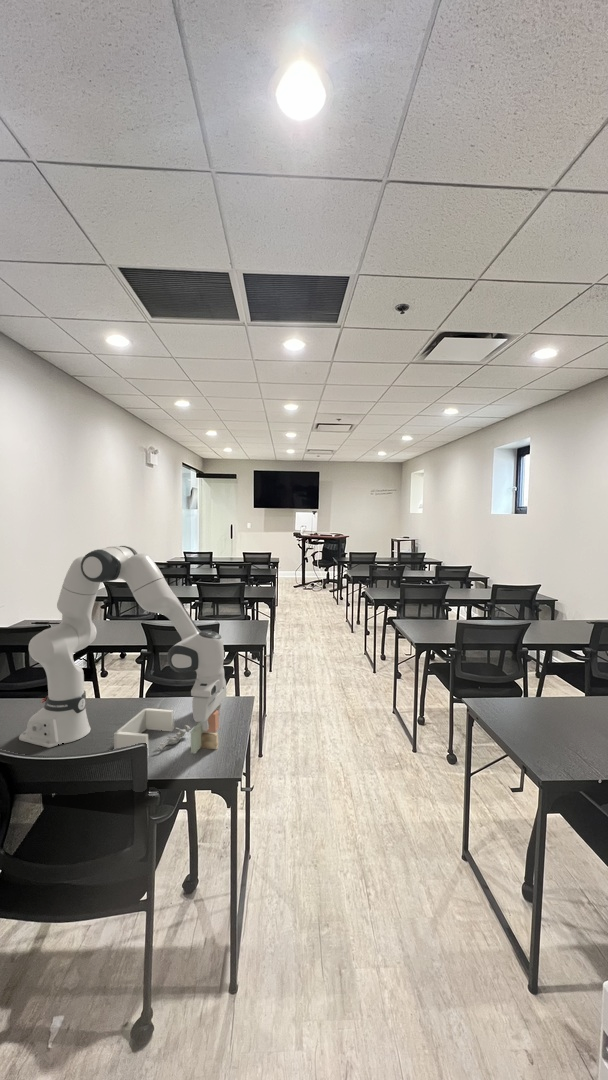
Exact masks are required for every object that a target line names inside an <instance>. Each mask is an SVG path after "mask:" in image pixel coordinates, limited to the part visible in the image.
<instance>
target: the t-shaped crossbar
mask: <svg viewBox="0 0 608 1080" xmlns="http://www.w3.org/2000/svg"><path fill="white" fill-rule="evenodd" d="M219 717H220V715H219V711H218V710H215V711H214V712H213V713H212V714H211V715H210V716H209V718H208V723H209V729H208V730H207V731H204V730H203V729H202V724H201V722H198V723H197V724H196V725H195V726H194V727H193V728H192V729H191V730H190V754H197V753H198V751H199V750H200V749H201V748H200V747H201V734H202V733H217V732H218V730H219V729H220V718H219Z"/></svg>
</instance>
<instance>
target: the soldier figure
mask: <svg viewBox="0 0 608 1080" xmlns="http://www.w3.org/2000/svg"><path fill="white" fill-rule="evenodd" d="M175 730H178V732H177V733H176V734H175V735H174V736H167V739H166V740H165V741H164V742H163V743H162V742H159V745H160V746H159V745H156V748H157V749H158V750H159V751H162V750H164V748H165V747H166V746H167V745H176V744H178V743H179V741H180V739H181V738H183V737H184V736H185V735H186V733H189V732H190V731H192V729H191V727H190V726H189V725H188V724H184V728H182V729H181V728H179V727H175Z"/></svg>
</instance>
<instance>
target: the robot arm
mask: <svg viewBox="0 0 608 1080" xmlns="http://www.w3.org/2000/svg"><path fill="white" fill-rule="evenodd" d="M119 579H120V580H123V581H124V582H125V583H126V584H127V586H128V588H129V589H130V591H131V593H132V596H133V598H134V600H135V601H136V602H137V604H138V605H139V606H140V608H142V610H144V611H146V612H149V613H156V614H159V615H163V616H164V617H166V618H167V619H168V620H169V621H170V622H171V623H172V625H173V626H174V629H176V631H177V633H178V634H179V636H180V638H181V641H179V642H177V643H176V644H174V645H173V646H171V648H169V649H168V651H167V654H166V655H167V656H166V660H167V663H168V665H169V667H170V668H171V670H173V672H177V673H181V674H183V673H191V672H196V678H195V682H194V684H193V686H192V688H191V690H190V695H191V697H192V703H191V704H192V718H193V720H194V721H195V722H198V723H199V722H201V724H202V729H203V730H204V731H207V730H208V729H209V723H208V718H209V716H210V715H211V714H212V713H213V712H214V711H215V710H218V711H219V716H221V707H222V703H223V701H224V700H225V699H226V698H227V694H228V692H227V681H226V678H225V668H224V660H225V651H224V650H225V649H224V640H223V637H222V635H221V634H219V633H218V632H216V631H213V630H203V631H202V630H200V629H199V628H198V626H197V625H196V623H195V622H194V620H193V619H192V617H191V615H190V614H189V612H188V611H187V609H186V607H185V606H184V604H183V603H182V602H181V601H180V599H179V598H178V597H177V595H175V593H174V592H173V591H172V589H171V587H170V586H169V584H168V582H167V580H166V579H165V576H164V575H163V573H162V571H161V570H160V568H159V567H158V565H157V564H156V562H155V561H154V560H153V559H152V558H151V556H150V555H149V554H146V553H138V552H137V550H136V549H134V548H132V547H130V546H126V545H120V546H117V545H116V546H107V547H105V548H100V549H94V550H91V551H90V552H88V553H86V554H85V555H84V556H79V557H77V558H75V559H74V560H72V563H71V565H70V566H69V568H68V571H67V572H66V575H65V577H64V579H63V582H62V586H61V589H60V593H59V595H58V600H57V602H56V608H57V610H58V611H59V613H60V614H61V616H62V617H61V621H60V623H59V624H58V625H55V626H52V627H48V628H46V629H44V630H42V631H40V632H39V633H37V634H36V635H34V636H33V637H32V638H31V639H30V641H29V643H28V653H29V656H30V657H31V659H33V660H34V661H35V662H36V663H39V664H40V665H41V666H42V668H43V670H44V671H45V675H46V680H47V690H48V691H47V694H48V695H46V696H45V698H42V699H41V702H40V703H41V704H43V703H44V705H43V706H42V708H40V709H39V710H38V711H37V712H35V714H33V715H32V716H31V717H30V718H29V720H28V722H27V725H26V729H25V730H24V731H23V732H21V734H20V735H19V736H18V739H19V741H21V742H25V743H29V744H33V745H35V746H36V745H37V746H42V747H44V748H53V747H56V746H58V744H59V745H63V744H62V743H64V744H68V743H72V742H75V741H77V740H79V739H83V738H84V737H85V736H87V735H89V733H90V732H91V726H90V724H89V719H88V715H87V709H86V705H87V693H86V690H85V674H84V670H83V668H82V667H81V666H79V665H77V664H76V663H75V660H74V654H76V653H78V652H79V651H81V650H83V649H86V648H87V647H88V646H89V645H91V644H92V643H93V642H94V641H95V640H96V637H97V634H98V633H97V632H98V630H97V627H96V625H95V623H94V622H93V620H92V613H93V609H94V605H95V602H96V598H97V595H98V592H99V589H100V585H101V583H106V582H110V581H111V582H112V581H116V580H119Z"/></svg>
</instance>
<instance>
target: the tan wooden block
mask: <svg viewBox="0 0 608 1080" xmlns="http://www.w3.org/2000/svg"><path fill="white" fill-rule="evenodd" d="M218 748H219V733H218V732H216V733H202V734H201V747H200V748H199V749H208V750H209V749H210V750H217V749H218Z"/></svg>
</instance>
